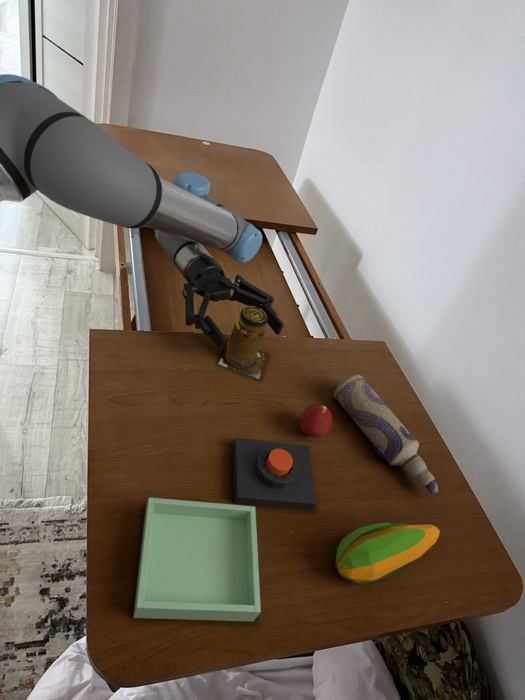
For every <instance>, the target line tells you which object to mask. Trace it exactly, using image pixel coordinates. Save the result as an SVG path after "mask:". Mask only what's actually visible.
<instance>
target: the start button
mask: <svg viewBox="0 0 525 700" xmlns="http://www.w3.org/2000/svg"><path fill="white" fill-rule="evenodd" d="M292 464H293V459H292V457H291V455H290V454H289V453H288V452H287V451H285V450H283V449H274V450H272V451H271V452H270V454H269V456H268V458H267V460H266V466H267V469H268V470H269V471H270V472H271V473H272V474H274V475H276V476H284V475H286V474H287V473H288V472H289V470H290V468H291V467H292Z"/></svg>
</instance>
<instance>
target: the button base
mask: <svg viewBox="0 0 525 700" xmlns="http://www.w3.org/2000/svg"><path fill="white" fill-rule="evenodd" d="M274 449H283V450H285V451H287V452H288V453H289V454H290V455H291V457H292V459H293V464H292V467H291V468H290V470H289V472H288V473H287V474H286V475H284V476H276V475H274V474H272V473H271V472H270V471H269V470H268V469H267V466H266V460H267V458H268V456H269V454H270V452H271V451H272V450H274ZM232 464H233V465H232V466H233V467H232V468H233V470H232V471H233V504H234V505H245V506H258V507H268V508H269V507H270V508H281V509H292V510H293V509H294V510H303V511H313V510H314V509H315V507H316V506H317V504H318V502H317V495H316V489H315V483H314V476H313V469H312V461H311V455H310V448H309V446H308V445H304V444H303V445H301V444H293V443H285V442H277V441H269V440H262V439H253V438H244V437H243V438H242V437H235V438H234V441H233V443H232Z"/></svg>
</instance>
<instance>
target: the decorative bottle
mask: <svg viewBox="0 0 525 700" xmlns="http://www.w3.org/2000/svg"><path fill="white" fill-rule="evenodd" d="M332 396H333V398H334V399H335V400H336V401H338V403H339V405H341V406H342V408H343V409H344V410H345V412H346V413H347V414H348V415H349V416H350V418H351V419H352V420H353V422H355V424H356V425H357V427H358V428H359V429H360V430H361V431H362V433H363V434H364V435H365V436H366V437H367V439H368V440H369V441H370V442H371V443H372V445H373V450H374V452H375V453H376V454H377V455H378V456H380V457H381V458H382V459H384V460H385V461H386V462H387V463H388V464H389V465H390V466H395V467H399V468H400V469H403V470H404V471H405V472H406V473H407V474H408V475H409V476H410V477H412V478H414V479H415V480H416V481H417V483H418V484H419V485H420V486H421V487H422V488H426V489H427V491H428V492H429V493H431V494H432V495H436V494H437V493H438V492H439V491H440V490H439V487H438V483H437V481H436V480H435V477H434V475H433V474H432V473H431V471H430V470H428V466H427V465H426V463H425V461H424V460H423V458H422V457H421V456H420V455H418V453H417V452H418V449H419V447H420V443H419V441H418V440H417V439H416V438H415V436H414V435H413V434H412V433H411V431H410V430H409V429H407V427H406V426H405V425H404V424H403V422H401V421H400V419H399V418H398V417H397V416H396V415H395V413H393V412H392V410H391V409H390V408H389V406H388V405H387V404H386V403H385V402H384V401H383V400H382V398H380V396H379V395H378V394H377V393H376V392H375V391H374V389H372V387H371V386H370V385H369V383H368V382H367V381H366V380H365V378H364V377H363V376H362V375H361V374H354V375H352V376H350V377H347V378H346V379H344V380H343V381H342V382H341V383H339V385H337V387H336V388H335V390H334V392H333V394H332Z"/></svg>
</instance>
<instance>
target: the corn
mask: <svg viewBox="0 0 525 700" xmlns="http://www.w3.org/2000/svg"><path fill="white" fill-rule="evenodd" d="M440 532H441V530H440V529H439V528H438V527H437V526H435V525H433V524H429V523H428V524H409V523H406V522H399V523H398V522H397V523H391V522H380V523H377V522H376V523H372V524H369V525H364V526H360V527H358V528H357V529H354V530H353V531H350V532H349V533H347V534H346V535H345V536H344V537H343V538H342V539H341V541H340V543H339V545H338V547H337V548H336V555H335V568H336V569H337V572H338V574H339V575H340V576H341V577H342V578H344V579H346V580H347V581H349V582H351V583H355V584H360V585H363V584H372V583H374V582H378V581H380V580H383V579H386V578H389V577H391V576H393V575H395V574H397V573H399V572H401V571H402V570H404V569H406V568H407V567H408V566H409V565H410V563H412V562H413V561H415V560H417V559H419V558H421V557H422V556H423V554H425V553H426V552H427V551H428V550H429V549H430V548H432V546H433V545H435V544H436V543H437V541H438V539H439V537H440Z"/></svg>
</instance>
